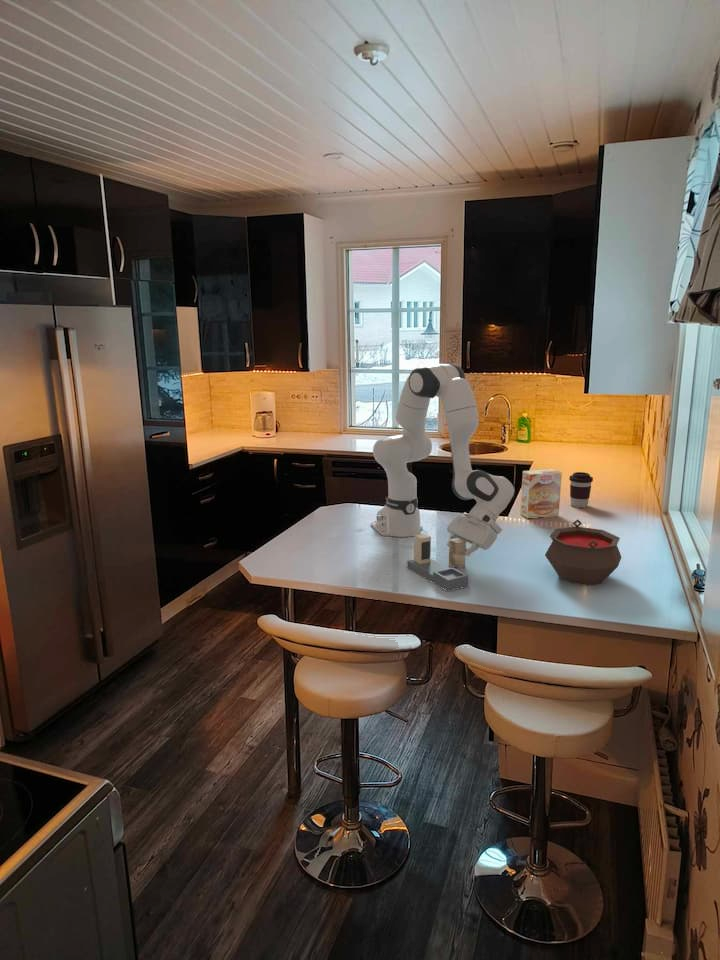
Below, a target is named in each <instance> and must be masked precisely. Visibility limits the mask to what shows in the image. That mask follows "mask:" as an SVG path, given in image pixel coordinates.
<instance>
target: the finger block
mask: <svg viewBox="0 0 720 960" xmlns="http://www.w3.org/2000/svg"><path fill="white" fill-rule="evenodd" d="M449 539H450V538H449ZM448 542H449V548H448V565H449V564H450V565H449V566H451V565H452V566H454V567H459V568H461V567H460V566H464V567H466V556H467V555H465V554H464V551H465V549H467V542H466V541H465V540H463V539H461V538H455V539H450V540H448ZM452 566H451V567H452ZM454 567H453V568H454Z"/></svg>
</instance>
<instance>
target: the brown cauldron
mask: <svg viewBox="0 0 720 960" xmlns="http://www.w3.org/2000/svg"><path fill="white" fill-rule="evenodd" d="M577 523H578V524H577ZM572 524H573V526H570V527H569V526H567V527H559V528H554V529H553V531H551V534H550V535H549V537H550V539H551V540H552V541H551V543H550V545H549V547H548V549H547V550H546V552H545V554H544V556H545V557H546V559H547V560H548V562H549V563H550V565H551V567H552V568H553V570H554V571H555V573H556V574H557V576H558V577H559V578H561V579H562V580H564V581H566V582H568V583H570V584H575V585H576V584H577V585H581V586H593V585H599V584H603V582H604V581H606V579H607V578H608V577H610V576H611V574H612V573H613V572H614V571H615V570H616V569H617V568H618V566H620V562H621V560H622V555H621V552H620V550H619V546H618V544H619V541H620V539H621V537H619V536H617V535H615V534H612V533H610V532H608V531H606V530H604V529H597V528H590V527H583V526H581V525H582V524H583V523H582V522H581V521H580V520H579V519H576V520H575V521H574V522H572Z"/></svg>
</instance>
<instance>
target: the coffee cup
mask: <svg viewBox="0 0 720 960" xmlns="http://www.w3.org/2000/svg"><path fill="white" fill-rule="evenodd" d="M568 480H569V481H570V485H569V496H570V506H571V507H573V506H574V507H573V508H576V507H585V508H588V507H589V506H588V504H589V501H590V495H591V489H592V482H593V481H594V478H593V477H592V476H591V475H590V473H588V472H582V471H576V472H573V474H571V475H570V476H569V479H568Z"/></svg>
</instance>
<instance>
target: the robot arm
mask: <svg viewBox="0 0 720 960" xmlns="http://www.w3.org/2000/svg"><path fill="white" fill-rule="evenodd" d="M435 397H437V398H439V399H440V400H441V401H442V405H443V409H444V415H445V420H446V424H447V425H446V426H447V429H448V437H449V438H448V439H449V446H450V454H451V461H452V462H451V463H452V468H453V469H452V470H453V474H452V479H451V489H452V492H453V494H454V495H455V496H456V497H457V498H459V499H460V500H463V501H468V500H473V499H474V501H476V504H475V505H474V506H473V507H472V508H471V510H470V511H469V513H467V512H462V513H459V514H458V515H457V516H455V518H453V520H452V521H450V523H449V524H448V525H447V527H446V531H447V532H448V533H449V534H450V535H449V540H450V539H455V538H461V539H463V540H465V541H466V543H468V544H470V545H471V546H470V547H468V548H466V549H465V551H464V554H465V555H466V556H467V557H470V556H471V554H472V553H474V552H476V551H478V549H479V548H480V549H482V550H484V551H487V550H488V549H490V548H491V547H492V545H493V544H494V543H495V541H496V540H497V538H498V535H500V533H501V532H502V531H503V529H502V527H501V526H500V525H499V524H498V522H497V520H498V518H499V516H500V514H501V513H503V511H504V510H505V509H506V508H507V506H508V505H509V503H510V502H511V501H512V499H513V497H514V494H515V487H514V484H512V481H510V480H509V479H508V478H506V476H502V475H501V476H500V475H493V474H490V473H488V472H486V471H484V470H481V469H475V470H473V469H472V464H471V456H470V450H469V449H470V447H469V445H470V441H471V439H472V437H473V435H474V434H475V432H476V431H477V429H478V428H479V420H480V419H479V411H478V406H477V401H476V398H475V395H474V392H473V390H472V386H471V384H470V382H469V380H467V379H466V375H465V371H464V370H463V368H462V367H461V366H459V365H457V364H454V363H435V364H431V365H426V366H423V365H422V366H419V367H416V368H415V369H413V370H412V371H411V372H410V374H409V375H408V377H407V378H406V380H405V382H404V384H403V387H402V390H401V394H400V397H399V402H398V405H397V410H396V415H395V420H396V423H397V424H398V425H399V426H400V427H401V428H402V432H401V434H396V435H391V436H386V437H382V438H381V439H378V440H376V442H375V443H374V445H373V449H372V455H373V457H374V459H375V461H376V463H378V465H380V466H381V467H382V468H383V469H384V471H385V473H386V478H387V485H388V487H387V488H388V493H387V494H388V496H387V497H385V500H386V502H385V504H384V506H383V507H382V508H381V509H379V510H378V511H377V514H376V520H374V521H371V523H370V527H372V528H373V529H374V530H376V531H377V532H378V533H379V534H380V535H381V536H384V537H385V536H386V537H387V536H388V537H397V538H399V537H400V538H407V537H408V538H409V537H414V535H418V534H421V530H423V525H421V514H420V509H419V508H418V503H419V500H418V497H417V495H418V494H417V491H418V490H417V487H418V485H417V484H418V481H417V477H416V476H415V475H414V474H413V473H412V472H410V471H409V470H408V467H407V465H408V464H407V463H414V462H419V461H421V460H423V459H426V458H428V457H430V455H431V453H432V450H433V444H432V441H431V438H430V437H429V436H428V435H427V433H426V429H425V428H426V427H425V425H426V419H427V415H428V411H429V406H430V402H431V399H434V398H435ZM449 540H448V542H447V543H446V545H447V547H449Z"/></svg>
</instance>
